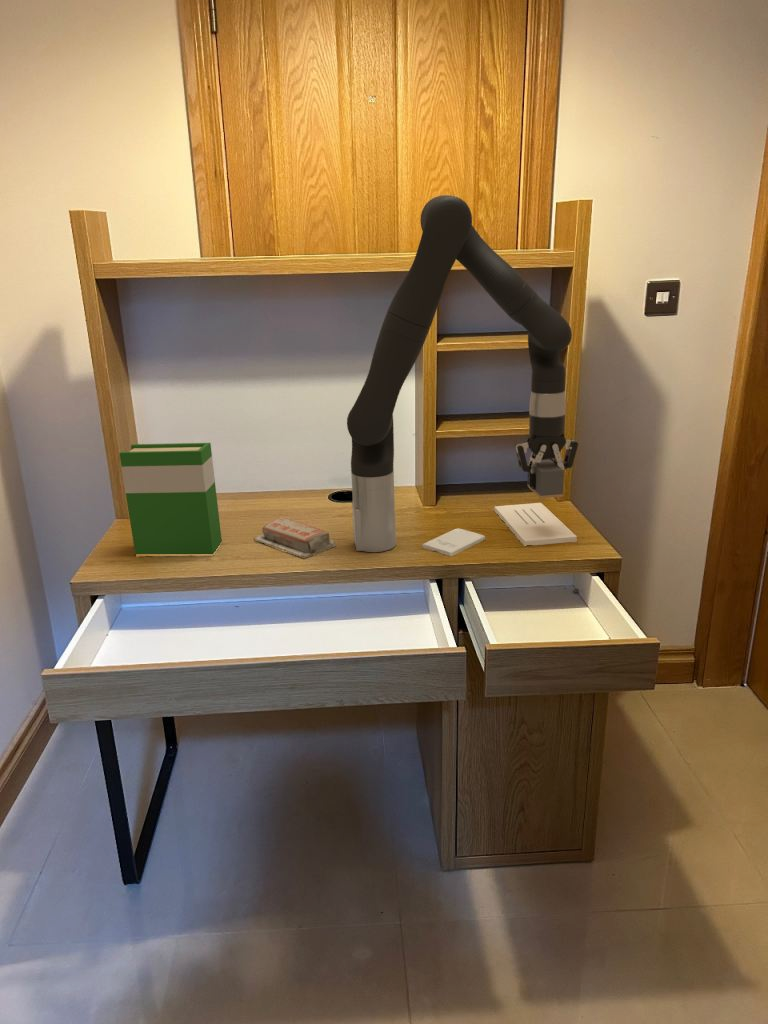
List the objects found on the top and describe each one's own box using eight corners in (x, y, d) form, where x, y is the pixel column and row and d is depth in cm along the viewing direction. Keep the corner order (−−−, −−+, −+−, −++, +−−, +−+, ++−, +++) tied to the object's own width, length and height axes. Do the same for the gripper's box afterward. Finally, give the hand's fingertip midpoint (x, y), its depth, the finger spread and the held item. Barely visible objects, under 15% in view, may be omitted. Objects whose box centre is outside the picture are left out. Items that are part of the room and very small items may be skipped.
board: (524, 546, 165) (524, 540, 165) (494, 510, 188) (494, 506, 187) (576, 541, 167) (576, 536, 166) (540, 507, 189) (540, 502, 189)
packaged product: (336, 527, 168) (303, 541, 161) (337, 548, 170) (304, 561, 163) (284, 511, 180) (251, 523, 173) (286, 530, 182) (253, 542, 175)
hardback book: (135, 557, 168) (119, 452, 160) (147, 544, 175) (132, 444, 167) (213, 556, 166) (200, 451, 159) (222, 543, 173) (210, 442, 166)
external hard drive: (485, 542, 170) (450, 559, 162) (456, 534, 175) (421, 549, 167) (485, 535, 170) (450, 551, 161) (456, 527, 175) (421, 543, 167)
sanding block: (562, 496, 163) (563, 470, 161) (540, 498, 163) (541, 471, 161) (548, 484, 172) (549, 459, 170) (527, 486, 171) (528, 461, 169)
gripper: (520, 418, 157) (518, 495, 163) (586, 413, 159) (582, 490, 164) (509, 410, 164) (508, 485, 170) (572, 406, 166) (570, 480, 171)
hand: (545, 487), depth 167 cm, fingers closed on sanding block, 5 cm apart
